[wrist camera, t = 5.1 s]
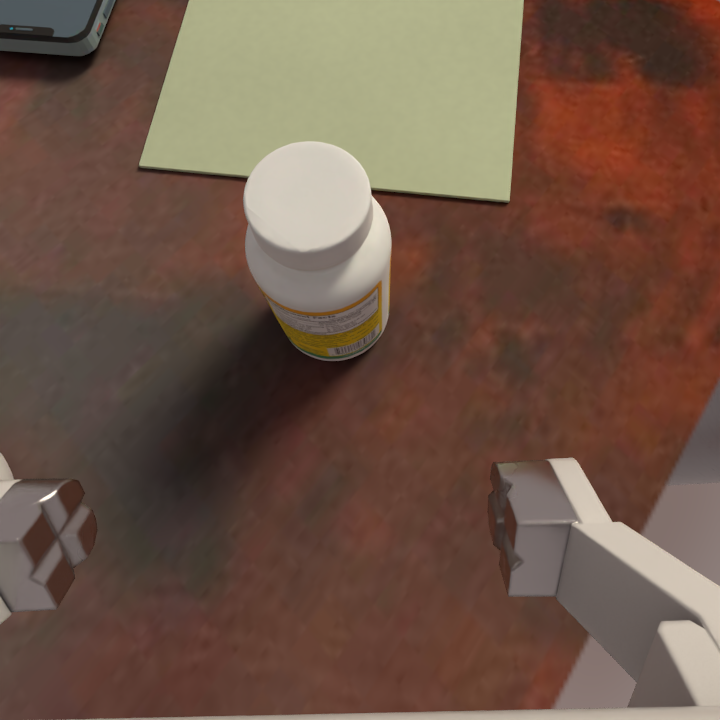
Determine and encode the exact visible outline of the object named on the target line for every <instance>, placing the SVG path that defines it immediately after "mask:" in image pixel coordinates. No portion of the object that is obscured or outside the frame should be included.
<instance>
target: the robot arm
mask: <svg viewBox="0 0 720 720" xmlns="http://www.w3.org/2000/svg"><path fill="white" fill-rule="evenodd" d="M490 480H491V483H492V486H493V489H494V490H493V491H492V492H491V493H490V494H489V495H488V522H489V528H490V533H491V537H492V541H493V545H494V546H495V547H497V548H498V549H499V550H500V561H499V566H500V570H501V573H502V577H503V580H504V583H505V587H506V590H507V594H508V596H556V599H557V600H558V601H559V602H560V603H561V604H562V605H563V607H564V608H565V609H566V610H567V611H568V612H569V613H570V614H571V615H572V616H573V617H574V618H575V619H576V620H577V621H578V622H579V623H580V624H581V625H582V626H583V627H584V628H585V629H586V630H587V631H588V632H589V633H590V635H591V636H592V637H593V638H594V639H595V640H596V641H597V642H598V643H599V644H600V645H601V646H602V647H603V648H604V649H605V650H606V651H607V652H608V653H609V654H610V655H611V656H612V657H613V658H614V659H615V660H616V661H617V662H618V664H619V665H620V666H621V667H622V668H623V669H624V670H625V671H626V672H627V673H628V674H629V675H630V676H631V677H632V678H633V679H634V680H635V681H636V682H637V684H636V686H635V689H634V692H633V694H632V697H631V699H630V702H629V705H628V707H627V708H592V709H590V708H589V709H541V710H493V711H445V712H397V713H350V714H303V715H255V716H209V717H162V718H115V719H68V720H720V587H719V586H718V585H717V584H715V583H713V582H712V581H710V580H709V579H707V578H706V577H704V576H703V575H701V574H700V573H698V572H696V571H695V570H693V569H692V568H690V567H689V566H687V565H686V564H684V563H683V562H681V561H680V560H678V559H677V558H675V557H673V556H672V555H670V554H669V553H667V552H666V551H664V550H662V549H661V548H660V547H658V546H657V545H655V544H654V543H652V542H651V541H649V540H648V539H646V538H644V537H643V536H641V535H640V534H638V533H637V532H635V531H634V530H632V529H631V528H629V527H628V526H626V525H625V524H623V523H622V522H612V521H611V519H610V517H609V515H608V514H607V512H606V510H605V509H604V507H603V505H602V503H601V502H600V500H599V498H598V496H597V495H596V493H595V491H594V489H593V488H592V486H591V484H590V482H589V481H588V479H587V477H586V476H585V474H584V472H583V470H582V469H581V467H580V465H579V463H578V462H577V461H576V460H575V459H574V458H559V459H546V460H529V461H507V462H493V464H492V467H491V474H490ZM84 494H85V492H84V490H83V488H82V486H81V484H80V482H79V481H78V480H75V479H71V478H65V479H23V480H0V624H1V623H2V622H4V621H5V620H6V619H7V618H8V617H9V616H10V615H11V612H21V611H38V610H55V609H57V608H58V606H59V605H60V603H61V601H62V599H63V598H64V596H65V594H66V593H67V591H68V589H69V588H70V586H71V584H72V583H73V581H74V579H75V574H74V569H73V568H74V567H76V566H77V565H78V564H80V563H81V562H82V561H84V560H85V559H86V558H87V557H88V555H89V554H90V552H91V550H92V548H93V546H94V543H95V539H96V534H97V523H96V518H95V515H94V513H93V510H92V509H90V508H89V507H88V506H86V505H85V504H84V503H82V502H81V501H82V499H83V496H84Z"/></svg>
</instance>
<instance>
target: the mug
mask: <svg viewBox="0 0 720 720" xmlns="http://www.w3.org/2000/svg"><path fill="white" fill-rule="evenodd" d="M0 480H14V478H13V475H12V472H11V470H10V468H9V466H8V464H7V462H6V460H5V458H4V457H3V455H2V454H1V453H0Z"/></svg>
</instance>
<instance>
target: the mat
mask: <svg viewBox="0 0 720 720" xmlns="http://www.w3.org/2000/svg"><path fill="white" fill-rule="evenodd" d="M523 3H524V0H189V2H188V6H187V9H186V12H185V15H184V19H183V22H182V25H181V29H180V32H179V35H178V38H177V42H176V45H175V48H174V51H173V55H172V58H171V61H170V65H169V68H168V71H167V74H166V78H165V81H164V84H163V87H162V91H161V94H160V97H159V101H158V104H157V107H156V110H155V114H154V117H153V120H152V123H151V127H150V130H149V133H148V137H147V140H146V143H145V146H144V150H143V153H142V156H141V159H140V163H139V167H140V168H148V169H159V170H169V171H180V172H190V173H201V174H211V175H222V176H232V177H243V178H249V176H250V174H251V172H252V171H253V169H254V168H255V166H256V165H257V164H258V163H259V162H260V161H261V160H262V159H263V158H264V157H266V156H267V155H268V154H270V153H271V152H273V151H275V150H276V149H278V148H281V147H283V146H286V145H288V144H291V143H297V142H305V141H315V142H323V143H327V144H331V145H334V146H337V147H339V148H342V149H343V150H345V151H346V152H348V153H349V154H350V155H352V156H353V157H354V158H355V159H356V160H357V161H358V162H359V163H360V164H361V166H362V167H363V169H364V170H365V172H366V174H367V176H368V179H369V182H370V187H371V190H379V191H390V192H400V193H410V194H421V195H431V196H442V197H452V198H463V199H473V200H484V201H494V202H505V203H509V201H510V187H511V173H512V159H513V144H514V130H515V116H516V102H517V88H518V74H519V59H520V45H521V31H522V17H523Z"/></svg>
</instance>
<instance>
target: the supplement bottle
mask: <svg viewBox="0 0 720 720" xmlns="http://www.w3.org/2000/svg"><path fill="white" fill-rule="evenodd" d="M243 203H244V211H245V215H246V218H247V221H248V223H249V225H248V228H247V232H246V239H245V251H246V258H247V262H248V266H249V268H250V271H251V273H252V275H253V277H254V279H255V281H256V283H257V285H258V286H259V288H260V290H261V292H262V294H263V295H264V297H265V299H266V300H267V302H268V304H269V306H270V307H271V309H272V311H273V313H274V315H275V316H276V318H277V320H278V322H279V323H280V325H281V327H282V328H283V330H284V332H285V334H286V335H287V337H288V338H289V340H290V341H291V343H292V344H293V345H294V346H295V347H296V348H297V349H299V350H300V351H301V352H303V353H305V354H306V355H308V356H311V357H313V358H316V359H319V360H324V361H341V360H346V359H350V358H353V357H356V356H358V355H360V354H362V353H364V352H365V351H367V350H368V349H369V348H370V347H372V346H373V345H374V344H375V342H376V341H377V340H378V339H379V337H380V336H381V334H382V333H383V331H384V329H385V326H386V324H387V320H388V315H389V299H390V267H391V233H390V228H389V224H388V221H387V218H386V216H385V214H384V212H383V210H382V208H381V207H380V205H379V204H378V202H377V201H376V200H375V199H374V198H373V197H372V196H371V187H370V182H369V179H368V176H367V174H366V172H365V170H364V169H363V167H362V166H361V164H360V163H359V162H358V161H357V160H356V159H355V158H354V157H353V156H352V155H350V154H349V153H348V152H346V151H345V150H343V149H342V148H339V147H337V146H334V145H331V144H327V143H323V142H315V141H305V142H297V143H291V144H288V145H286V146H283V147H281V148H278V149H276V150H275V151H273V152H271V153H270V154H268V155H267V156H266V157H264V158H263V159H262V160H261V161H260V162H259V163H258V164H257V165H256V166H255V168H254V169H253V171H252V172H251V174H250V176H249V178H248V180H247V183H246V186H245V190H244V198H243Z"/></svg>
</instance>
